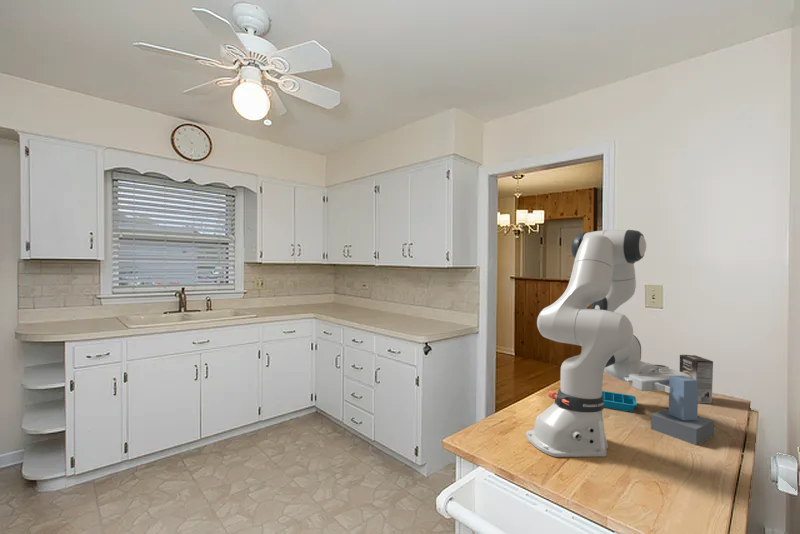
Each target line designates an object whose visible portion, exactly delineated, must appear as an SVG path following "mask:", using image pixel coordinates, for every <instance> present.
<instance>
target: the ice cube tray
mask: <svg viewBox="0 0 800 534" xmlns="http://www.w3.org/2000/svg"><path fill="white" fill-rule="evenodd" d="M602 395H603V396H604V408H607V409H612V410H619V411H623V412H630V413H631V412H632V413H633V412H634V411H635V407H638V405H637V404H638V403H637V399H636V396H634V395H632V394H626V393H621V392H620V393H619V392H614V391H613V392H612V391H607V390H602Z"/></svg>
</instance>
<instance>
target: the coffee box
mask: <svg viewBox="0 0 800 534" xmlns="http://www.w3.org/2000/svg"><path fill="white" fill-rule="evenodd" d="M713 369H714V361H713V360H710V359H707V358H704V357H702V356H698V355H695V354H692V355H691V354H679V372H682V373H685V374H688V375H690V376H691V377H692V378H693V379H695V380H698V404H712V403H713V382H714V381H713V379H714V377H713V373H714V370H713Z"/></svg>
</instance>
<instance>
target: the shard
mask: <svg viewBox="0 0 800 534" xmlns="http://www.w3.org/2000/svg"><path fill="white" fill-rule="evenodd" d="M651 392H653V393H657V394H661V395H665V396H669V393H667V392H665V391H658V390H657V391H651Z"/></svg>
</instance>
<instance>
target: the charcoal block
mask: <svg viewBox="0 0 800 534" xmlns="http://www.w3.org/2000/svg"><path fill="white" fill-rule="evenodd" d="M715 426H716V425H715V420H714V419H709V418H708V417H703V416H700V415H697V420H685V421H683V420H681V419H679V418H676V417H674V416H671V415H669V407H667V408H665V409H662V410H659V411H657V412H656V411H655V412H653V413H651V414H650V430H652V431H655V432H658V433H661V434H664V435H666V436H669V437H673V438H675V439H678V440H680V441H683V442H686V443H689V444H691V445H694V446H697V445H700V444H702V443H704V442H705V441H707V440H709V439H711V438H714V437H715Z"/></svg>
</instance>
